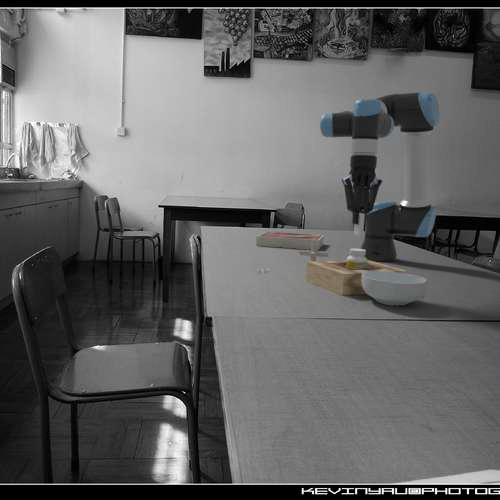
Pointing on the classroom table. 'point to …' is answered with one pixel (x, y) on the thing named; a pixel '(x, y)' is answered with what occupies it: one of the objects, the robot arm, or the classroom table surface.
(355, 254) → the pill bottle
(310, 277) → the seat board
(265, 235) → the product packaging
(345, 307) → the classroom table surface
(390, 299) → the cereal bowl
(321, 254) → the pipe connector
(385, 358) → the classroom table surface
